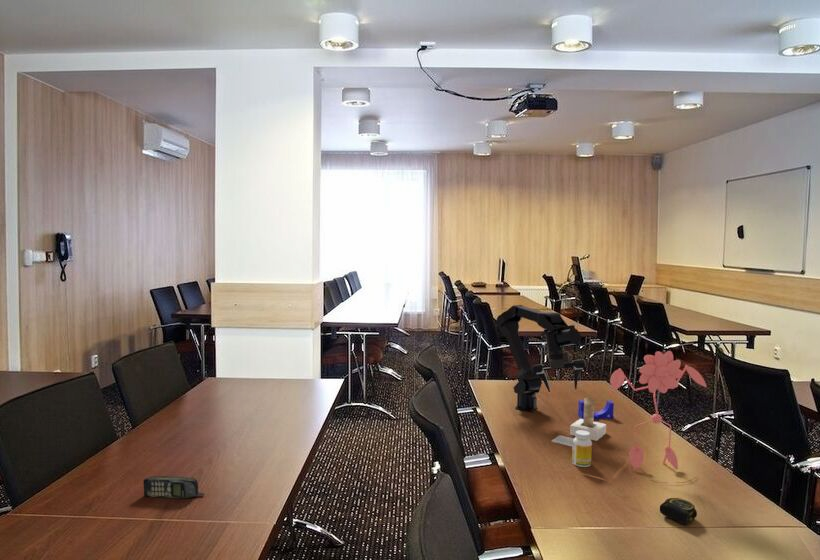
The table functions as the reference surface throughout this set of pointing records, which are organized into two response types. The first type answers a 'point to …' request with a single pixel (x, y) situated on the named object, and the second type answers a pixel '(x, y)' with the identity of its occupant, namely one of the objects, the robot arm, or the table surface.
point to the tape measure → (679, 510)
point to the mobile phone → (171, 487)
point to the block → (589, 429)
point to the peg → (588, 412)
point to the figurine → (658, 376)
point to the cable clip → (604, 413)
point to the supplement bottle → (582, 449)
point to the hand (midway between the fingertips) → (562, 390)
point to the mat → (563, 440)
